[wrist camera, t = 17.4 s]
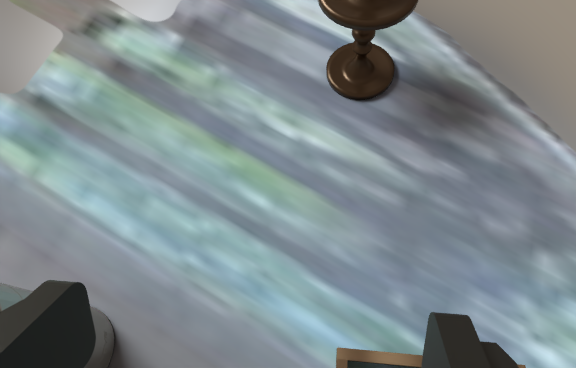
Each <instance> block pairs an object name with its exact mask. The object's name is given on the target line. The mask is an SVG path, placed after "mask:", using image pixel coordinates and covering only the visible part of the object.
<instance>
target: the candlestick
mask: <svg viewBox="0 0 576 368" xmlns="http://www.w3.org/2000/svg"><path fill="white" fill-rule="evenodd" d="M318 2H319V6H320V8H321V9H322V11H323V12H324V14H325V15H326V16H327V17H328V18H329V19H331V20H332V21H334V22H335V23H337V24H339V25H341V26H344V27H346V28H350V29H352V36H353V38H354V39H355V41H354V42H353V43H349V44H347V45H344V46H342V47H340V48H338V49H337V50H336V51H335V52H334V53H333V54H332V55H331V56H330V58H329V60H328V63H327V79H328V82H329V84H330V86H331V87H332V88H333V90H334V91H336V92H337V93H338V94H340V95H342V96H344V97H346V98H349V99H355V100H366V99H370V98H373V97H376V96H378V95H380V94H381V93H383V92H384V91H385V90H386V89H387V88H388V87H389V85H390V84H391V82H392V79H393V75H394V63H393V60H392V58H391V57H390V55H389V54H388V53H387V52H386V51H385V50H384V49H382V48H381V47H379V46H377V45H375V44H372V43H371V40H372V39H373V38H374V36H375V30H379V29H384V28H388V27H390V26H393V25H396V24H397V23H399V22H401V21H402V20H404V19H405V18H406V17H408V16H409V15H410V14H411V13H412V11H413V10H414V8H415V7H416V5H417V3H418V0H318Z"/></svg>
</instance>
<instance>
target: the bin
mask: <svg viewBox="0 0 576 368" xmlns="http://www.w3.org/2000/svg"><path fill="white" fill-rule="evenodd" d="M422 358H423V356H422V355H411V354H400V353H390V352H379V351H368V350H358V349H347V348H337V358H336V368H347V361H357V362H367V363H377V364H388V365H398V366H408V367H418V368H421V365H422ZM518 367H519V368H526V367H525V365H518Z"/></svg>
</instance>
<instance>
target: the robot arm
mask: <svg viewBox="0 0 576 368" xmlns="http://www.w3.org/2000/svg"><path fill="white" fill-rule="evenodd" d="M113 348H114V333H113V329H112V325H111V323H110V322H109V320H108V318H107V317H106V316H105V315H104V314H103V312H101V311H99V310H98V309H96V308H94V307H91V306H90V304H89V299H88V295H87V290H86V288H85V286H84V285H83V284H82V283H80V282H68V281H55V280H48V281H46V282H44V283H43V284H41V285H40V286H39V287H38V288H37V289H36V290H34V291H30V290H26V289H22V288H18V287H14V286H10V285H6V284H2V283H0V368H107V366H108V364H109V363H110V360H111V357H112V354H113ZM421 368H519V367H518V365H517V363H516V362H515V361H514V360H513V359H512V358H511V357H510V356H509V355H508V354H507V353H506V352H505V351H504V350H503V349H502V348H501V347H500V346H499V345H498V344H497V343H491V342H480V340H479V338H478V336H477V333H476V331H475V328H474V326H473V324H472V321H471V319H470V317H469V316H468V315H459V314H447V313H435V312H431V313H430V315H429V319H428V325H427V331H426V338H425V345H424V351H423V358H422V365H421Z"/></svg>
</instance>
